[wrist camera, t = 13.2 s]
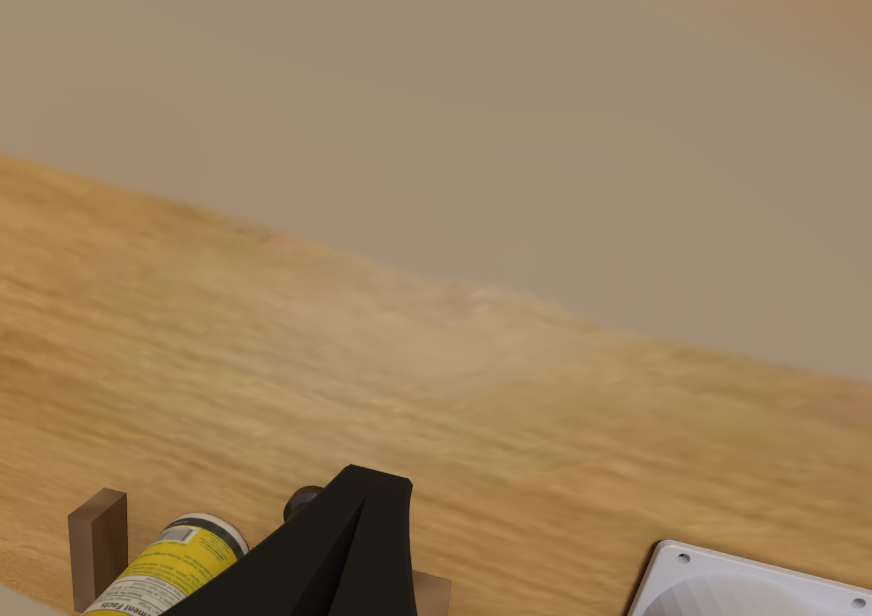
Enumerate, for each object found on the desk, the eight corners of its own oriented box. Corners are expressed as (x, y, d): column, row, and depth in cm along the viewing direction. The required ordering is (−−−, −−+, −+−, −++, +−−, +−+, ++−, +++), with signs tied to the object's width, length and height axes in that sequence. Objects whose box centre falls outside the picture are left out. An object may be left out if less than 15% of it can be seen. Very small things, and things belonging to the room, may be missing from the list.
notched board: (451, 580, 21) (447, 620, 19) (429, 668, 23) (422, 713, 21) (104, 487, 22) (67, 515, 20) (108, 577, 24) (74, 610, 22)
